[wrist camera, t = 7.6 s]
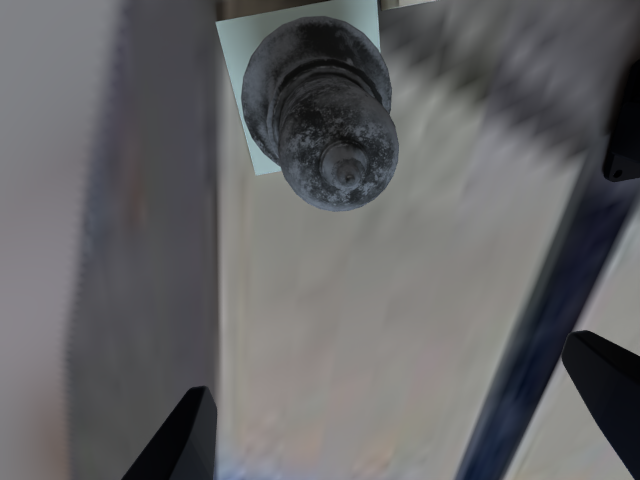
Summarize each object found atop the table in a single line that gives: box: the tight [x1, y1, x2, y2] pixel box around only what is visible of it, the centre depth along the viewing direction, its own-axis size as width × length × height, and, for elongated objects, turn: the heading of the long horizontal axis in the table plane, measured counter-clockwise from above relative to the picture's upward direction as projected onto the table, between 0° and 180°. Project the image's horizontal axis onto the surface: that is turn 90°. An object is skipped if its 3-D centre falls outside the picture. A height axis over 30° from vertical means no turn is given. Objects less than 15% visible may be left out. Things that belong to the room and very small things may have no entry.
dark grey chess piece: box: [241, 16, 399, 212], centre depth 12 cm, size 6×6×12 cm
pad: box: [216, 0, 380, 175], centre depth 17 cm, size 7×7×1 cm
